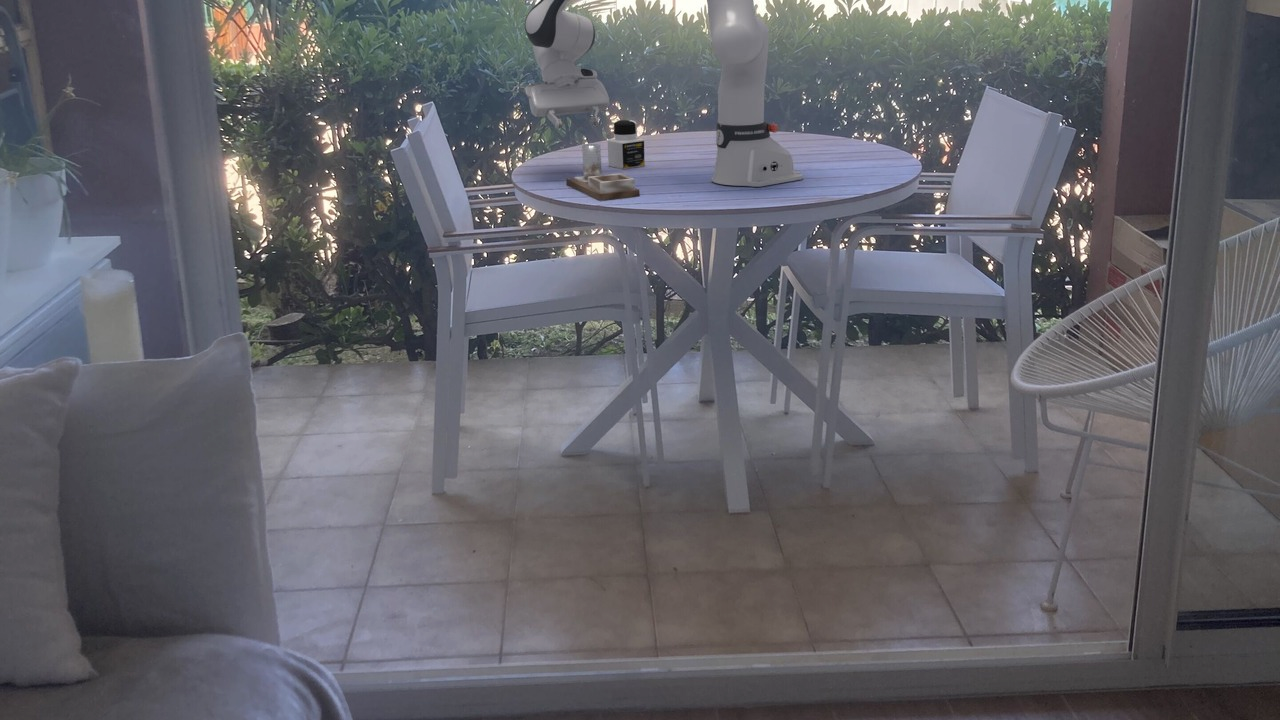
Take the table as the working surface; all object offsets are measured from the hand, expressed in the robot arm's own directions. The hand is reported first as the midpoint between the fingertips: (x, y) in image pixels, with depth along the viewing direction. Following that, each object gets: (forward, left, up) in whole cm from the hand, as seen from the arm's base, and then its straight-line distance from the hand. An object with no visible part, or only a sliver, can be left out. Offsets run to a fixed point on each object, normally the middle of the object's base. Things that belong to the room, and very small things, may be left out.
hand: (577, 125), depth 282 cm
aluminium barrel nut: (0, +9, -12) cm, 15 cm away
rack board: (0, +15, -14) cm, 20 cm away
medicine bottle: (-18, -12, -14) cm, 26 cm away
